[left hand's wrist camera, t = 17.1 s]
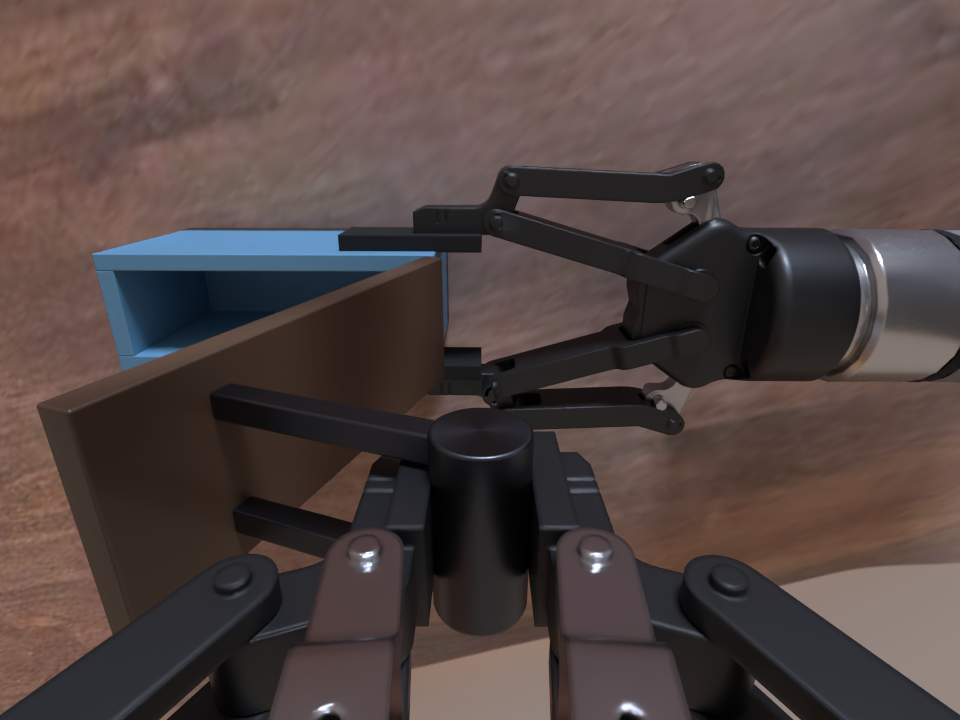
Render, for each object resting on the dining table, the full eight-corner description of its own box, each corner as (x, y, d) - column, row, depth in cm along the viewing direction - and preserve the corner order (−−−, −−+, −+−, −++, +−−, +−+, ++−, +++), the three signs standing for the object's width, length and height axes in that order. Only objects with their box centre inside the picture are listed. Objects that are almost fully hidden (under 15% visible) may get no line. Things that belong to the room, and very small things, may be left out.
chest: (207, 319, 34) (121, 371, 26) (190, 228, 32) (91, 253, 24) (448, 320, 34) (437, 372, 26) (446, 229, 32) (434, 254, 24)
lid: (111, 637, 12) (469, 790, 9) (33, 403, 10) (467, 506, 7) (428, 375, 25) (607, 402, 23) (423, 256, 23) (620, 270, 20)
